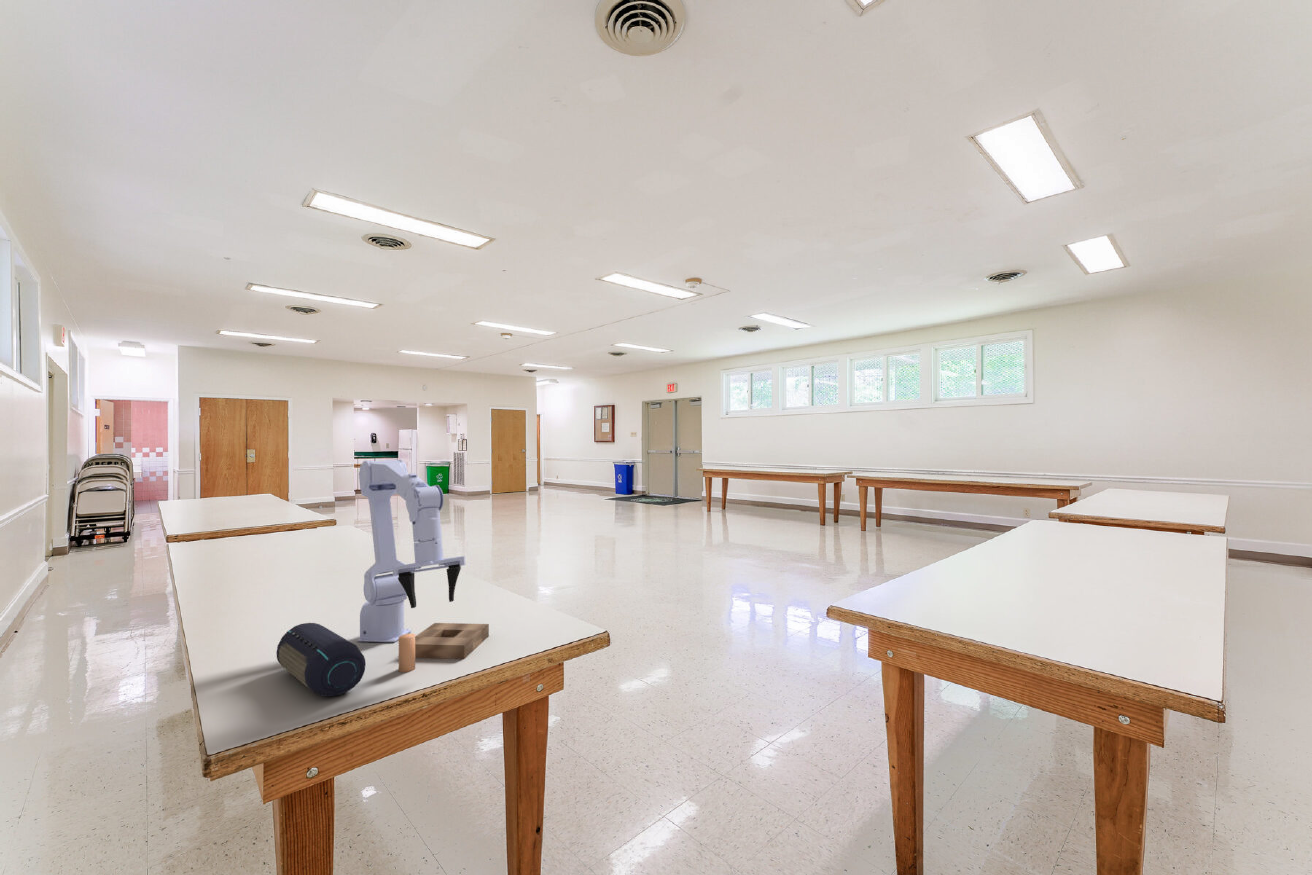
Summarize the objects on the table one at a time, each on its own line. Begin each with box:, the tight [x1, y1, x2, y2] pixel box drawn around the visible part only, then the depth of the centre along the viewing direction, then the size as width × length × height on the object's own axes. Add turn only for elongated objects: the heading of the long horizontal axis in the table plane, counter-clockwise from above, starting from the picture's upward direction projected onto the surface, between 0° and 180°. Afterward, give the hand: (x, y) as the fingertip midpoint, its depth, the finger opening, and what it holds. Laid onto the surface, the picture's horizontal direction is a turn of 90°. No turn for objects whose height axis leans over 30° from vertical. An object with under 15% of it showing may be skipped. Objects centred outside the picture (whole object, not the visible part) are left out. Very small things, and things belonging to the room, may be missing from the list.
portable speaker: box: [276, 622, 366, 697], centre depth 109 cm, size 25×10×10 cm, turn 50°
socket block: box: [415, 622, 490, 660], centre depth 127 cm, size 14×14×3 cm
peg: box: [398, 633, 416, 673], centre depth 114 cm, size 3×3×7 cm
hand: (432, 604), depth 116 cm, fingers open, 7 cm apart
